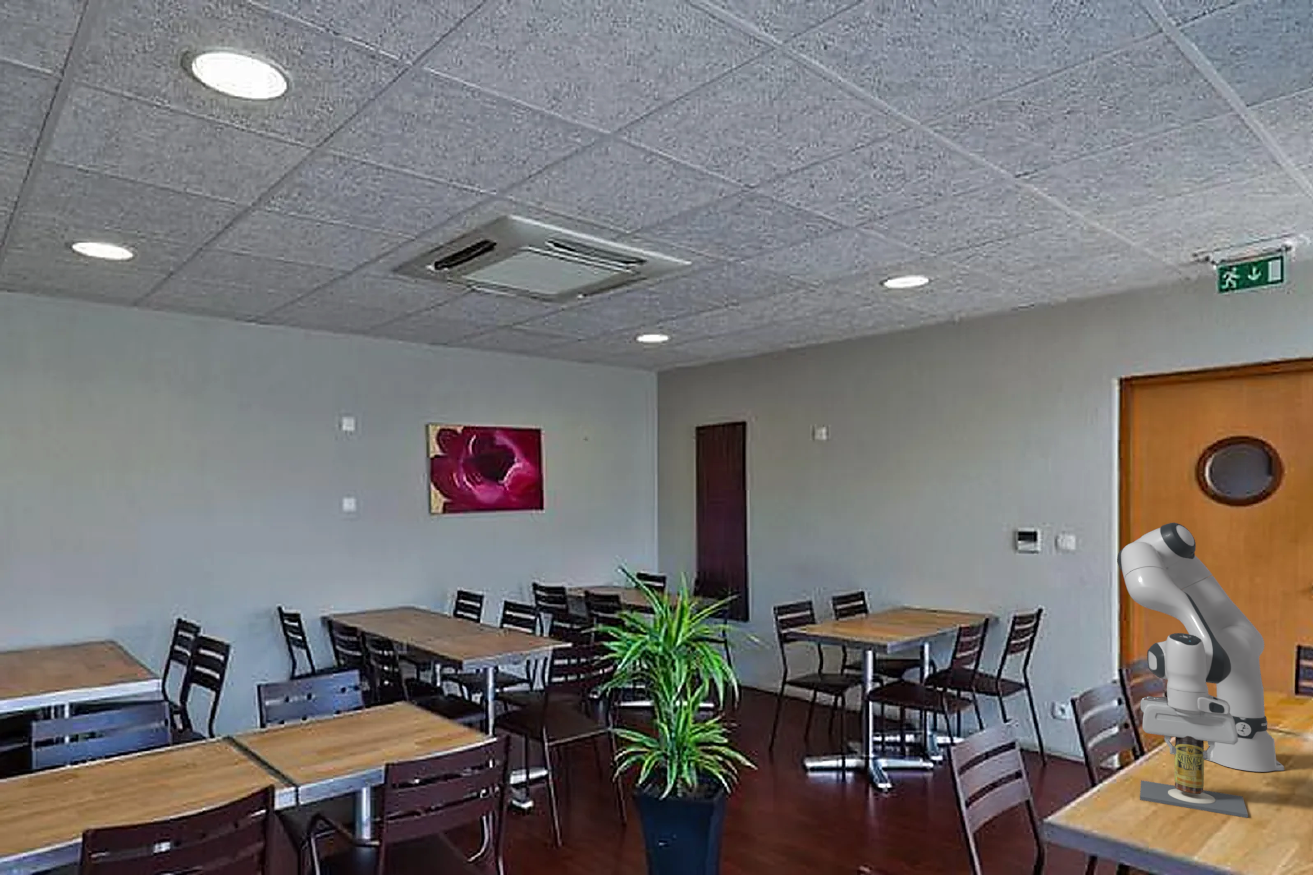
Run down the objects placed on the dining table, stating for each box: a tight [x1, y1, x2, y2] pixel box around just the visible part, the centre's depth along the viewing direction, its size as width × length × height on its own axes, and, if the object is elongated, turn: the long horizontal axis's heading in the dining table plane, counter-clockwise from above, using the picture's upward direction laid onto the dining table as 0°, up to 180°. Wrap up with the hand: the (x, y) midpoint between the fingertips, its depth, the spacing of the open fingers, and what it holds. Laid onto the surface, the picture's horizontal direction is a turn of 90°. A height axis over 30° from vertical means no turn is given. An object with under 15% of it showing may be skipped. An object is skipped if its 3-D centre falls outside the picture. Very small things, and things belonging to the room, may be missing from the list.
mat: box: [1139, 779, 1249, 819], centre depth 207 cm, size 14×22×1 cm, turn 59°
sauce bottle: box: [1173, 736, 1205, 794], centre depth 208 cm, size 7×6×20 cm
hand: (1189, 756), depth 208 cm, fingers closed on sauce bottle, 6 cm apart
